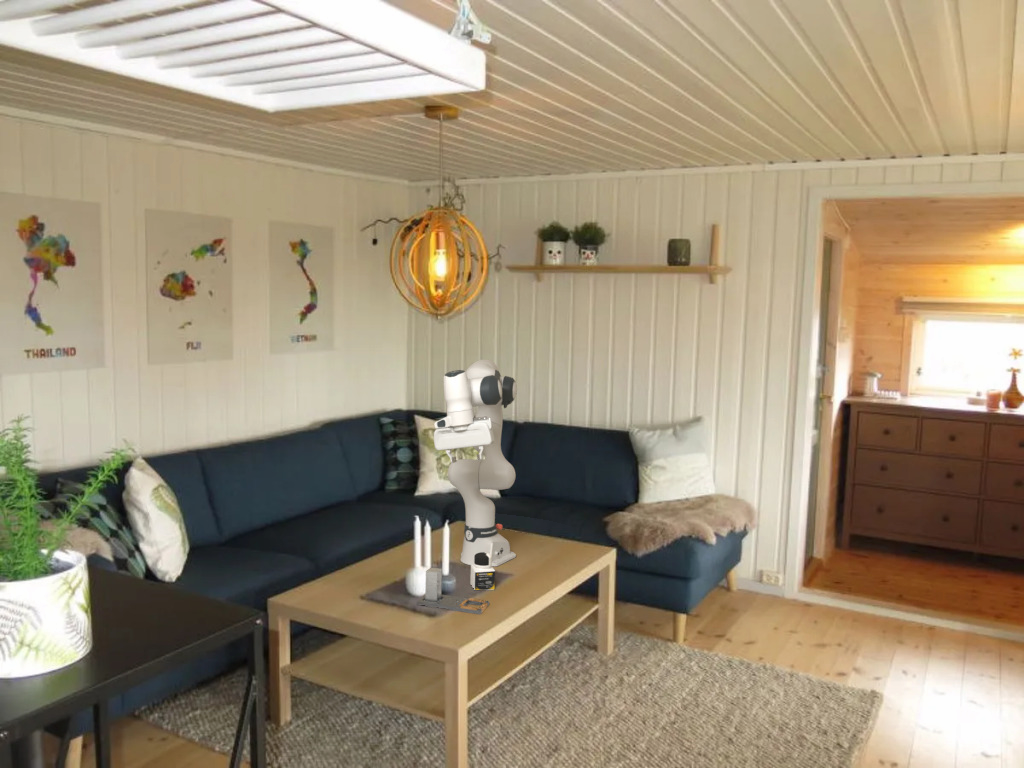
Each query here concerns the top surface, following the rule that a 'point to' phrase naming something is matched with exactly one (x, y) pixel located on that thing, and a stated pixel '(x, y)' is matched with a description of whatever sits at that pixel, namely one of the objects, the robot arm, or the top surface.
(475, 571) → the medicine bottle
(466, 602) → the grey flat board
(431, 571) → the zinc block
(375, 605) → the top surface
